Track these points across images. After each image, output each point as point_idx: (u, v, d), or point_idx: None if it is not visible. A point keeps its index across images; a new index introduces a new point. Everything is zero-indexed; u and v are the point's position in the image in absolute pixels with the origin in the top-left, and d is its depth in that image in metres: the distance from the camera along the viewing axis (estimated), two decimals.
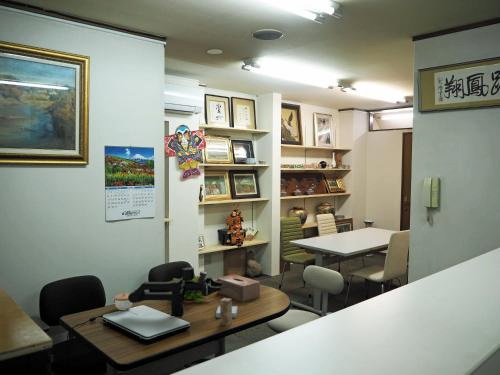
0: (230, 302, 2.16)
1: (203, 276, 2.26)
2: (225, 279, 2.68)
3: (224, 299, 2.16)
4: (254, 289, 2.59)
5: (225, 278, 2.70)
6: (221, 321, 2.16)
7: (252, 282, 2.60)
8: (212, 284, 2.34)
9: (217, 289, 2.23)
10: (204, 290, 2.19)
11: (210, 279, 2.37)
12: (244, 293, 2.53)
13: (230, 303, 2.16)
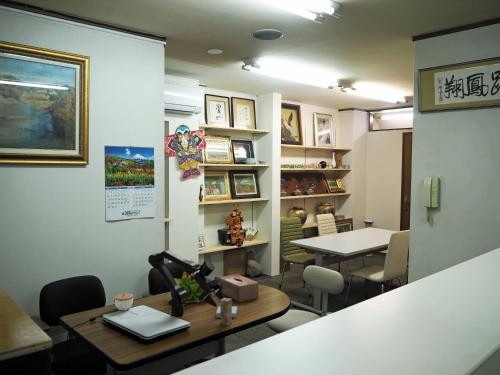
0: (229, 302, 2.16)
1: (214, 283, 2.16)
2: (226, 278, 2.69)
3: (224, 299, 2.16)
4: (252, 290, 2.57)
5: (226, 278, 2.71)
6: (221, 321, 2.16)
7: (250, 283, 2.59)
8: (218, 293, 2.24)
9: (213, 304, 2.14)
10: (202, 296, 2.12)
11: None
12: (241, 293, 2.53)
13: (230, 303, 2.16)
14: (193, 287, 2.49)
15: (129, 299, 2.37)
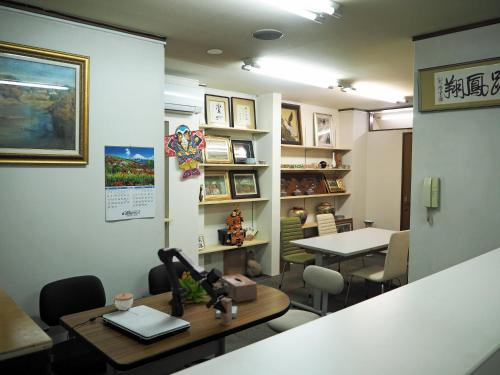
0: (230, 302, 2.16)
1: (221, 291, 2.15)
2: (226, 278, 2.70)
3: (224, 299, 2.16)
4: (250, 290, 2.56)
5: (227, 277, 2.72)
6: (221, 321, 2.16)
7: (249, 283, 2.58)
8: None
9: (223, 311, 2.14)
10: (210, 304, 2.10)
11: (228, 294, 2.26)
12: (237, 293, 2.52)
13: (230, 303, 2.16)
14: (193, 287, 2.49)
15: (129, 299, 2.37)
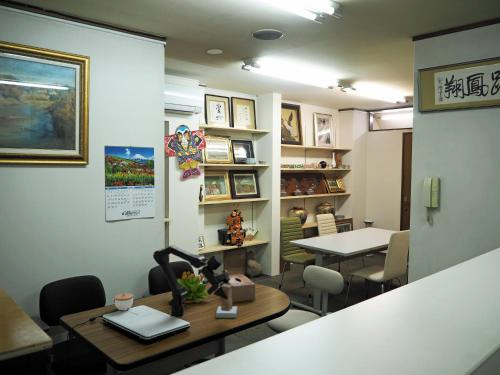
0: (230, 289, 2.18)
1: (222, 277, 2.16)
2: None
3: (225, 285, 2.18)
4: (248, 291, 2.55)
5: (229, 277, 2.73)
6: (222, 307, 2.17)
7: (247, 284, 2.57)
8: None
9: (224, 297, 2.16)
10: (212, 290, 2.11)
11: (228, 281, 2.28)
12: (234, 293, 2.53)
13: (231, 289, 2.18)
14: (193, 287, 2.49)
15: (129, 299, 2.37)
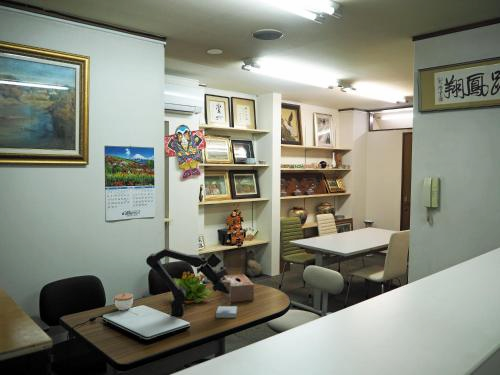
0: None
1: (224, 273, 2.28)
2: (228, 277, 2.72)
3: (225, 281, 2.30)
4: (246, 291, 2.55)
5: (230, 277, 2.74)
6: (223, 302, 2.28)
7: (245, 284, 2.57)
8: None
9: (226, 291, 2.27)
10: (218, 286, 2.21)
11: None
12: (233, 293, 2.53)
13: None
14: (193, 287, 2.49)
15: (129, 299, 2.37)
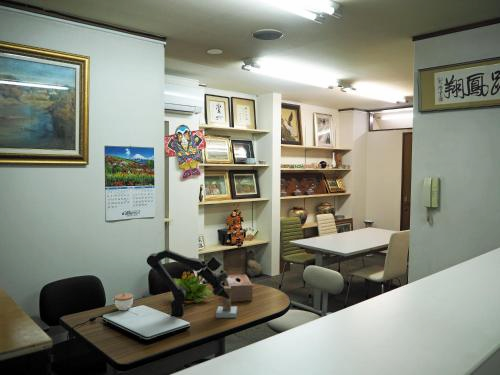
0: None
1: (224, 277, 2.28)
2: (229, 277, 2.72)
3: (225, 287, 2.30)
4: (244, 291, 2.54)
5: (231, 276, 2.74)
6: (223, 308, 2.29)
7: (244, 284, 2.56)
8: None
9: (226, 296, 2.25)
10: (218, 290, 2.21)
11: (222, 280, 2.39)
12: (231, 293, 2.53)
13: None
14: (193, 287, 2.49)
15: (129, 299, 2.37)
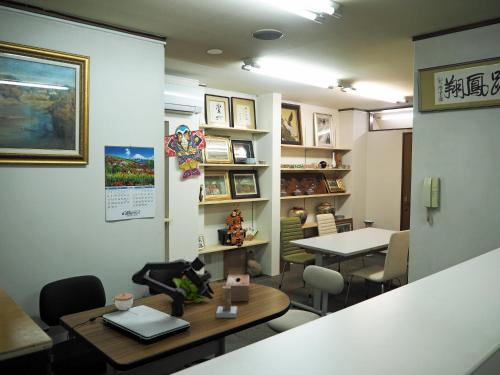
0: None
1: (208, 277, 2.27)
2: (230, 277, 2.73)
3: (225, 287, 2.30)
4: (241, 292, 2.54)
5: (233, 276, 2.75)
6: (223, 308, 2.29)
7: (241, 284, 2.56)
8: None
9: (210, 297, 2.25)
10: (201, 290, 2.21)
11: (206, 280, 2.39)
12: None
13: None
14: (193, 287, 2.49)
15: (129, 299, 2.37)
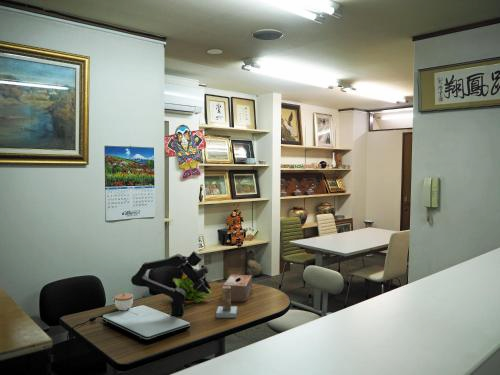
0: None
1: (204, 272, 2.27)
2: (232, 277, 2.74)
3: (225, 287, 2.30)
4: (238, 292, 2.54)
5: (235, 276, 2.75)
6: (223, 308, 2.29)
7: (239, 284, 2.55)
8: (202, 281, 2.35)
9: (206, 291, 2.25)
10: (198, 285, 2.20)
11: (203, 275, 2.38)
12: None
13: None
14: None
15: (129, 299, 2.37)
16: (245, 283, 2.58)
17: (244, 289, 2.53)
